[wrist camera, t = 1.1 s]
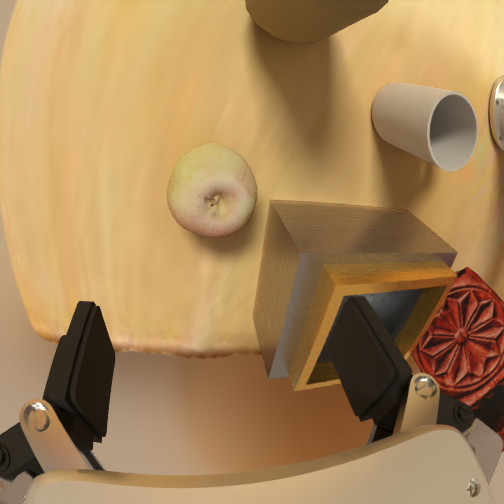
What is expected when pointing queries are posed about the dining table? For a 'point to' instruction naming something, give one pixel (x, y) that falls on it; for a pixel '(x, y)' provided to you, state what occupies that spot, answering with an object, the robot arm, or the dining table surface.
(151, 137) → the dining table surface
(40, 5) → the dining table surface
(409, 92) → the cup
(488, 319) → the vase
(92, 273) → the dining table surface
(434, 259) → the box
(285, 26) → the squeeze bottle
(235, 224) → the fruit
